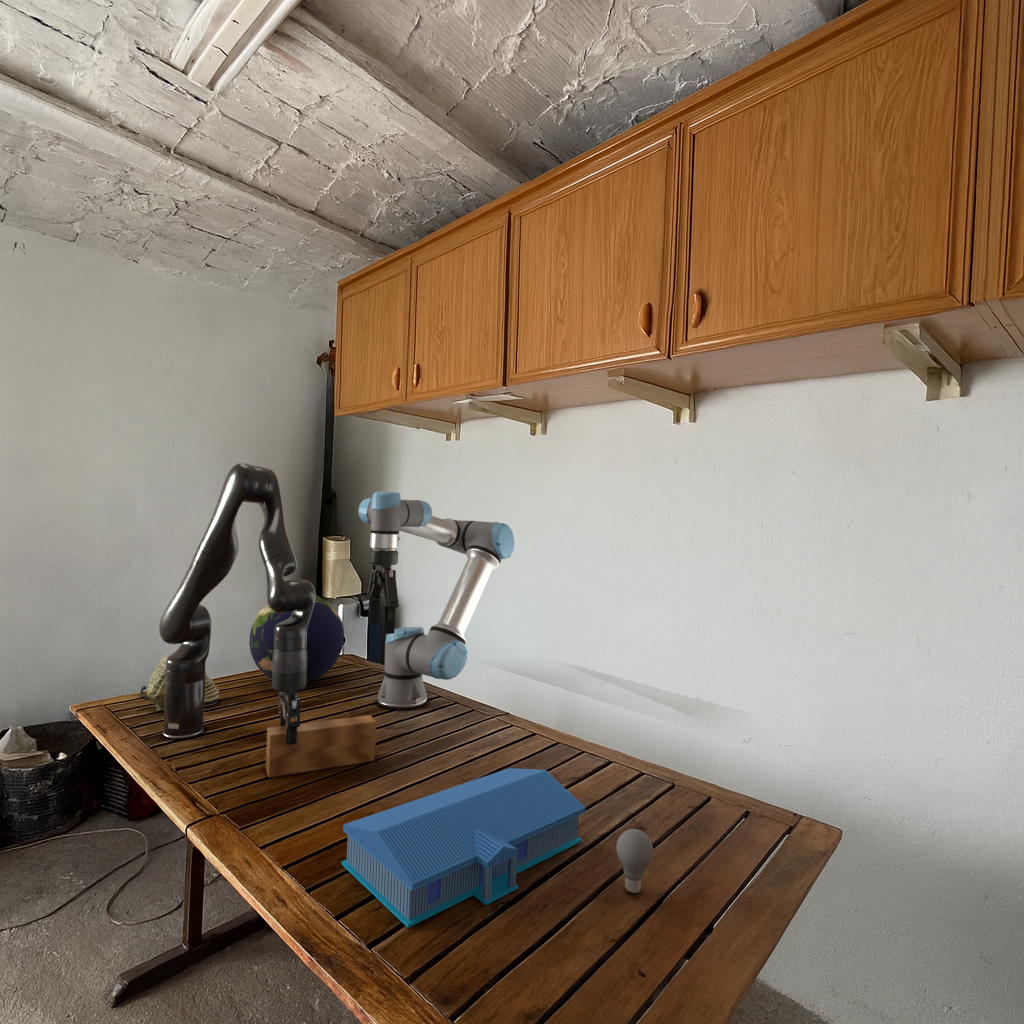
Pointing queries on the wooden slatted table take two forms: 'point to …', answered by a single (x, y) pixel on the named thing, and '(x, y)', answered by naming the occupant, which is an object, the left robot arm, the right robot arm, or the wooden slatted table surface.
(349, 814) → the wooden slatted table surface
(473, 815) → the model building
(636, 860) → the light bulb
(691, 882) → the wooden slatted table surface
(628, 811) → the wooden slatted table surface
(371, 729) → the bar
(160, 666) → the fossil
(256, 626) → the globe
